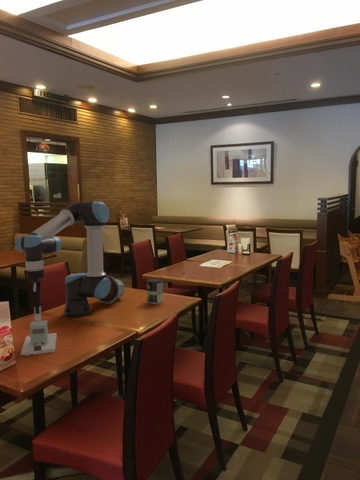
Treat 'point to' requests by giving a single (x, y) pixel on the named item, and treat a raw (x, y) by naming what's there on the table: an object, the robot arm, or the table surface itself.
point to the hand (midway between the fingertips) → (38, 319)
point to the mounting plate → (39, 346)
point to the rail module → (39, 332)
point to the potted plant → (113, 291)
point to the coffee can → (155, 290)
